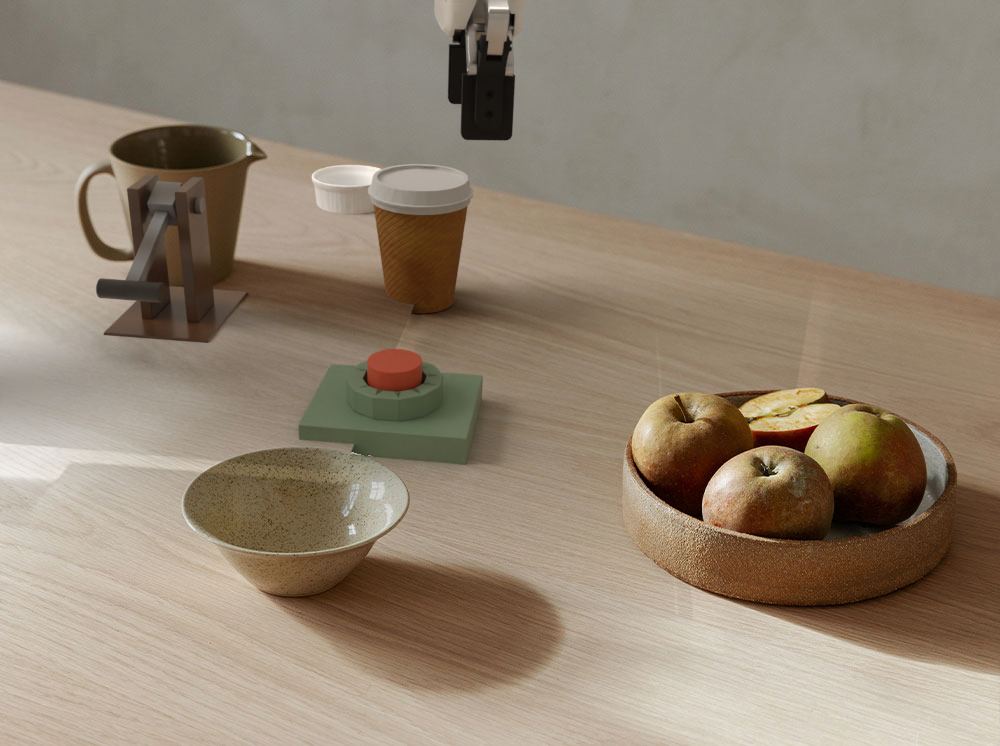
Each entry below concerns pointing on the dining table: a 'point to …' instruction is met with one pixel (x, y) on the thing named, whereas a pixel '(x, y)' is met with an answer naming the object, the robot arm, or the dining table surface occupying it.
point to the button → (394, 370)
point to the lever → (146, 251)
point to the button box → (396, 415)
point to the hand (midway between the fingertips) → (477, 120)
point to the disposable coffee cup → (420, 231)
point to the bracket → (197, 303)
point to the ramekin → (344, 188)
